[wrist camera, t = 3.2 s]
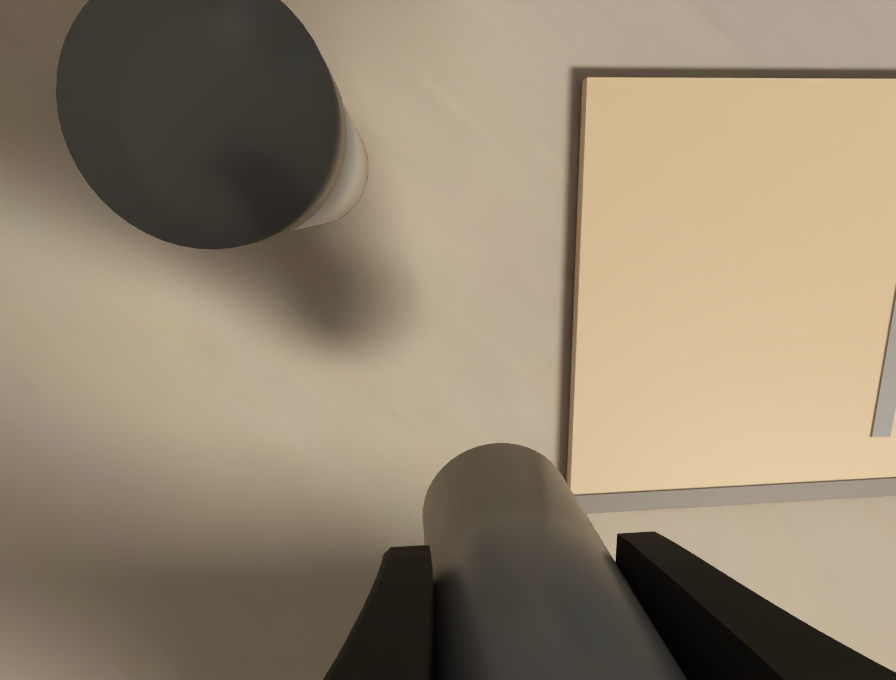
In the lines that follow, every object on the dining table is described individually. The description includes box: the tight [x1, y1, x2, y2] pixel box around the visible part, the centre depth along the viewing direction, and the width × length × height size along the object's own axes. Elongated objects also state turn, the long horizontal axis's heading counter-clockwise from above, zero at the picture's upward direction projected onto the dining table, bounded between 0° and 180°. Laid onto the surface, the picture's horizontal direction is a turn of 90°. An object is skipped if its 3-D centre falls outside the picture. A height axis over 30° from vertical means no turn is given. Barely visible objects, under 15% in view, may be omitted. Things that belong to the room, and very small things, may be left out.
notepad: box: [567, 77, 896, 514], centre depth 16 cm, size 12×16×1 cm
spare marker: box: [56, 0, 368, 249], centre depth 10 cm, size 3×3×8 cm
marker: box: [423, 443, 687, 680], centre depth 7 cm, size 3×3×8 cm
